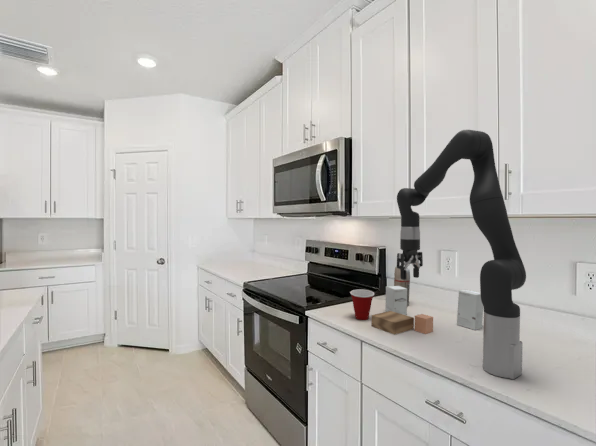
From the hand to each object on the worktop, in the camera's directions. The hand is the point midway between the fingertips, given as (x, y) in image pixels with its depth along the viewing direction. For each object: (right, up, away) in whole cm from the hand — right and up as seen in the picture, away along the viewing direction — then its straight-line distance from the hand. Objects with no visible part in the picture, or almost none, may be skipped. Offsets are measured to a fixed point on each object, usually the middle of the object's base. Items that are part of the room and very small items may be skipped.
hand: (409, 278), depth 133 cm
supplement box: (+2, -21, +25) cm, 33 cm away
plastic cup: (-16, -21, +17) cm, 31 cm away
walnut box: (-6, -22, +4) cm, 23 cm away
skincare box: (+27, -22, +6) cm, 35 cm away
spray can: (+9, -21, +41) cm, 47 cm away
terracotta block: (+6, -21, 0) cm, 22 cm away
